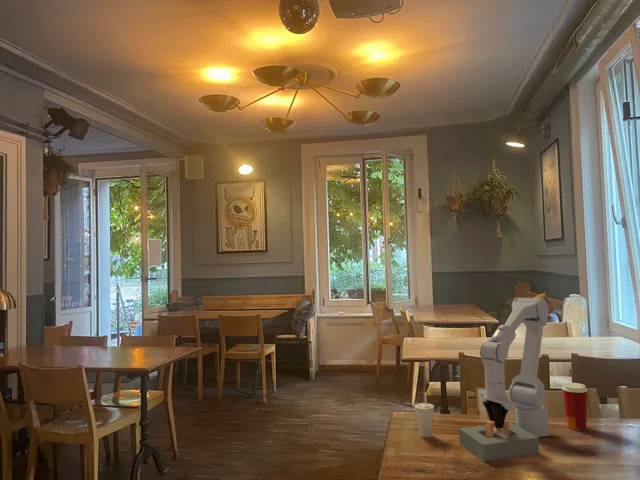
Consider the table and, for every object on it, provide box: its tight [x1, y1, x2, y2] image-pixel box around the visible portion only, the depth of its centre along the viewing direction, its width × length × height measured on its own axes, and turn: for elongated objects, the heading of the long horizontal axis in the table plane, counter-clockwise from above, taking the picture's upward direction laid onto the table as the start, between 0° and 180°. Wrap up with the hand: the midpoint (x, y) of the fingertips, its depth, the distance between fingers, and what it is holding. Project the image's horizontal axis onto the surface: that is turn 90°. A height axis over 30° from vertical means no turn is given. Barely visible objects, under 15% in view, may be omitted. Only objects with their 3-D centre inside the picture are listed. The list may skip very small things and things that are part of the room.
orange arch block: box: [484, 419, 510, 438], centre depth 153 cm, size 6×3×6 cm, turn 102°
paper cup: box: [561, 382, 588, 432], centre depth 168 cm, size 8×8×14 cm
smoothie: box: [414, 392, 435, 439], centre depth 166 cm, size 6×6×14 cm
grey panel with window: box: [458, 421, 540, 463], centre depth 153 cm, size 18×14×6 cm
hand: (497, 426), depth 153 cm, fingers closed on orange arch block, 2 cm apart
